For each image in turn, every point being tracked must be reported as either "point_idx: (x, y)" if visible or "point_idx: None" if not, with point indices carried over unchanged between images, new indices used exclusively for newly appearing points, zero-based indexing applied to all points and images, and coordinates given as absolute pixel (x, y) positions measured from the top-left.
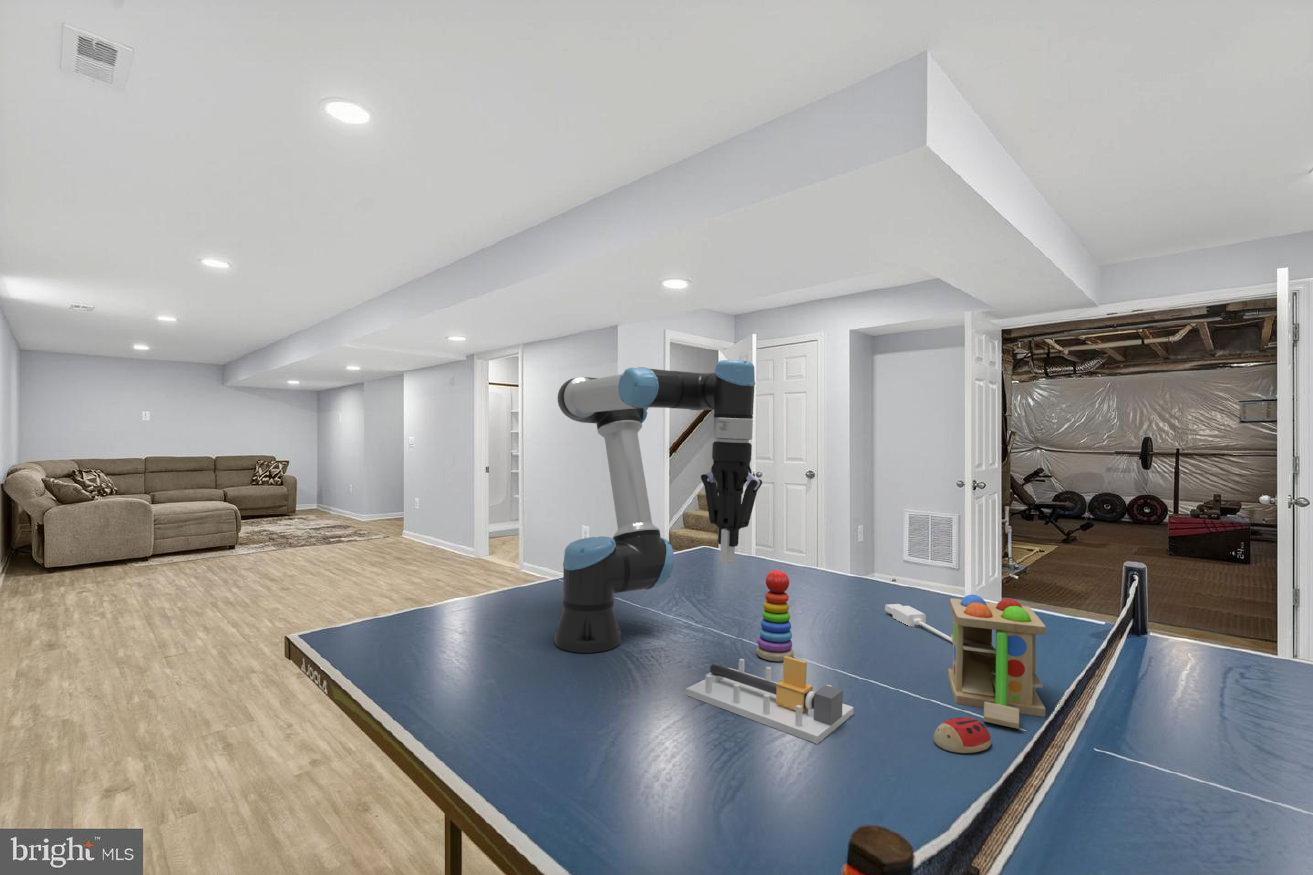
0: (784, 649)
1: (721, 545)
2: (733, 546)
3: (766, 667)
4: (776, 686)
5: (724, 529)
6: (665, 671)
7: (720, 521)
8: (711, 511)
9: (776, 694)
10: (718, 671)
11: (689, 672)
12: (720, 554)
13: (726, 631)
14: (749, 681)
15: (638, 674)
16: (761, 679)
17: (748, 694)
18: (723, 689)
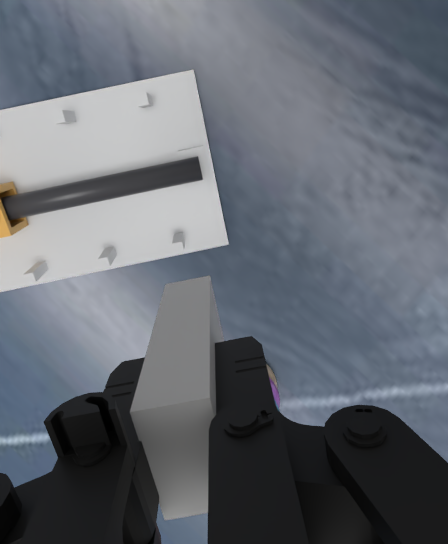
0: None
1: (203, 322)
2: (120, 364)
3: (108, 259)
4: (14, 200)
5: (181, 412)
6: (326, 124)
7: (236, 458)
8: (442, 535)
9: (4, 184)
10: (173, 162)
11: (285, 170)
12: (208, 293)
13: (405, 403)
14: (84, 180)
15: (355, 52)
16: (59, 197)
17: (89, 172)
18: (139, 143)
